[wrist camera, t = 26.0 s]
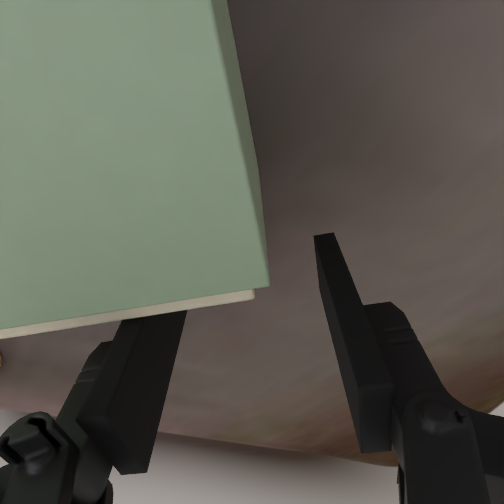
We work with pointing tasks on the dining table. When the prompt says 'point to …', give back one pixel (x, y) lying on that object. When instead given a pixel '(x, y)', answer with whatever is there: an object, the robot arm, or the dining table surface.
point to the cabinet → (123, 158)
